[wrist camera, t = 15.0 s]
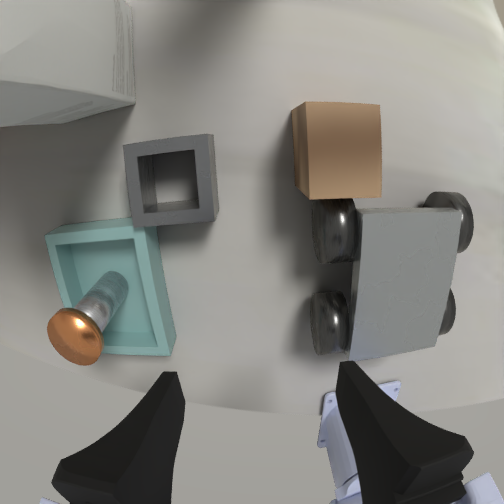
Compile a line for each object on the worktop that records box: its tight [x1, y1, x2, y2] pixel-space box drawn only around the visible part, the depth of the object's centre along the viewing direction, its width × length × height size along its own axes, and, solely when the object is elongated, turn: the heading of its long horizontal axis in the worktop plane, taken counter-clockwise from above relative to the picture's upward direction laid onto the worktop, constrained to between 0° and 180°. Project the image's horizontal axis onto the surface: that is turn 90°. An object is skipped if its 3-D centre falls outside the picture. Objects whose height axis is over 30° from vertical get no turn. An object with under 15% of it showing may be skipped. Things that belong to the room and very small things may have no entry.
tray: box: [44, 217, 176, 356], centre depth 21 cm, size 10×8×2 cm
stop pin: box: [47, 271, 129, 366], centre depth 18 cm, size 4×4×7 cm
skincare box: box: [0, 0, 136, 127], centre depth 9 cm, size 8×7×16 cm
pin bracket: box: [123, 134, 219, 228], centre depth 18 cm, size 5×5×3 cm
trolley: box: [310, 192, 474, 361], centre depth 20 cm, size 11×11×5 cm
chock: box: [291, 102, 382, 200], centre depth 17 cm, size 5×4×5 cm
